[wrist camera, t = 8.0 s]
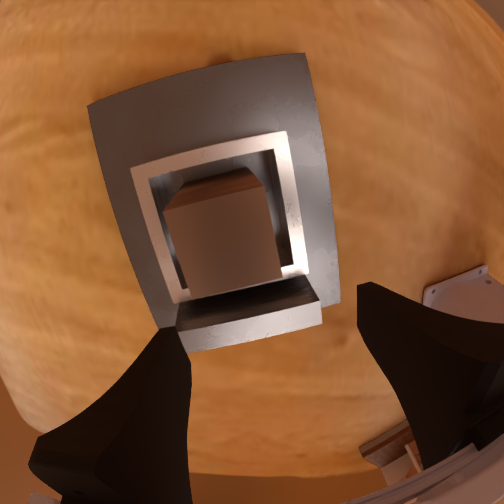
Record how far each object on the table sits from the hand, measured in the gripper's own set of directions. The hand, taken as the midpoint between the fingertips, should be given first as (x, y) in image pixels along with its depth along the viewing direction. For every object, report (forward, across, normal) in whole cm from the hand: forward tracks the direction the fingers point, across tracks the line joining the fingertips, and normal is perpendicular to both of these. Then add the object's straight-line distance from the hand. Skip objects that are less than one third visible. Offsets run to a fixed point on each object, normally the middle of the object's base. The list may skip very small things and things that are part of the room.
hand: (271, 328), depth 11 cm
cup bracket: (+10, +1, -3) cm, 11 cm away
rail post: (+9, +1, -3) cm, 10 cm away
